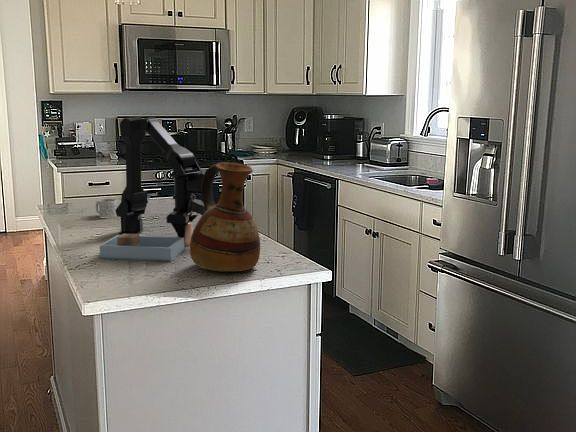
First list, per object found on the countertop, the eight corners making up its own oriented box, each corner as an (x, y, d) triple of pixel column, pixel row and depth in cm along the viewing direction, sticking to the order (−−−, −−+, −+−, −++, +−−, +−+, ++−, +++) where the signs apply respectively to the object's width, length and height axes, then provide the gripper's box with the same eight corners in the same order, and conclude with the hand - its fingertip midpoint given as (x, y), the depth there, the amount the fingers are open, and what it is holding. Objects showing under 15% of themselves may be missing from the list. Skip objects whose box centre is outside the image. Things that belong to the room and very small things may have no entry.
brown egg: (175, 245, 204) (174, 224, 202) (179, 241, 208) (179, 221, 207) (190, 246, 203) (189, 224, 202) (194, 242, 208) (194, 221, 206)
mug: (121, 216, 248) (120, 199, 247) (107, 219, 242) (107, 202, 241) (103, 213, 253) (102, 197, 252) (90, 216, 248) (89, 199, 246)
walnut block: (118, 253, 191) (117, 237, 190) (124, 249, 196) (123, 233, 195) (134, 254, 191) (133, 237, 190) (139, 249, 196) (139, 234, 195)
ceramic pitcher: (233, 282, 166) (231, 169, 160) (175, 270, 176) (171, 163, 170) (274, 265, 182) (274, 161, 176) (218, 255, 192) (217, 156, 186)
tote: (100, 258, 188) (99, 245, 187) (117, 247, 201) (117, 234, 200) (170, 261, 185) (170, 248, 184) (184, 249, 198) (183, 237, 198)
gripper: (200, 197, 192) (201, 247, 195) (215, 187, 210) (216, 233, 213) (165, 196, 193) (166, 246, 197) (182, 187, 212) (183, 232, 215)
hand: (184, 239), depth 205 cm, fingers closed on brown egg, 5 cm apart
